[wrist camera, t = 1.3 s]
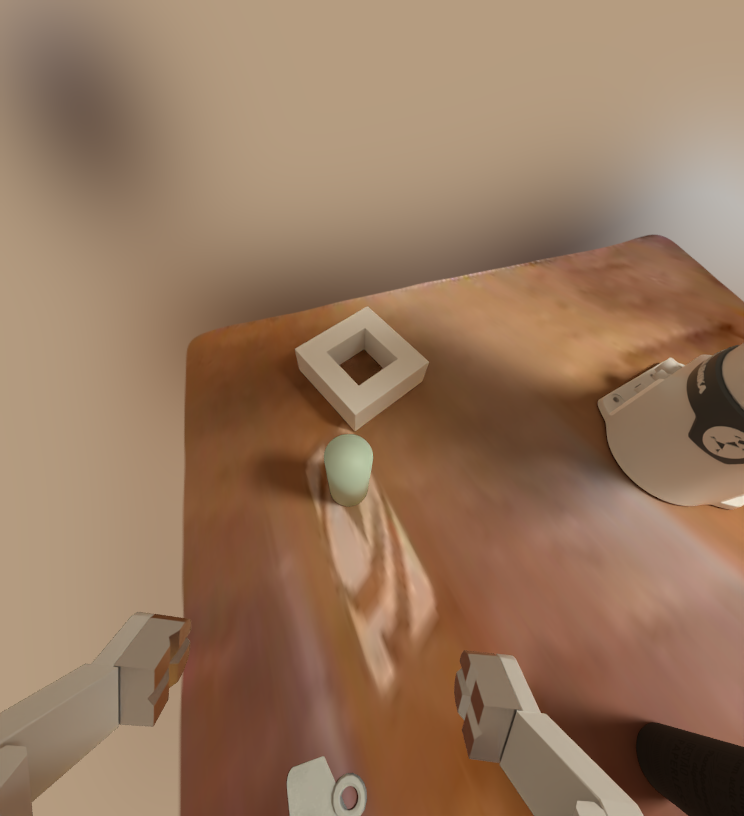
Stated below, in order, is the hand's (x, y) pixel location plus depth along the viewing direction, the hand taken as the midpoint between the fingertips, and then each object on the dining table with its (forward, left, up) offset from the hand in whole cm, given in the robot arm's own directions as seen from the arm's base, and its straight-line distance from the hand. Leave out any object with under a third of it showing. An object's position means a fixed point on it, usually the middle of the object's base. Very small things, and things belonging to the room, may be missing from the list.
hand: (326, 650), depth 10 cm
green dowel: (-8, -9, -27) cm, 29 cm away
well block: (-19, -20, -27) cm, 38 cm away
